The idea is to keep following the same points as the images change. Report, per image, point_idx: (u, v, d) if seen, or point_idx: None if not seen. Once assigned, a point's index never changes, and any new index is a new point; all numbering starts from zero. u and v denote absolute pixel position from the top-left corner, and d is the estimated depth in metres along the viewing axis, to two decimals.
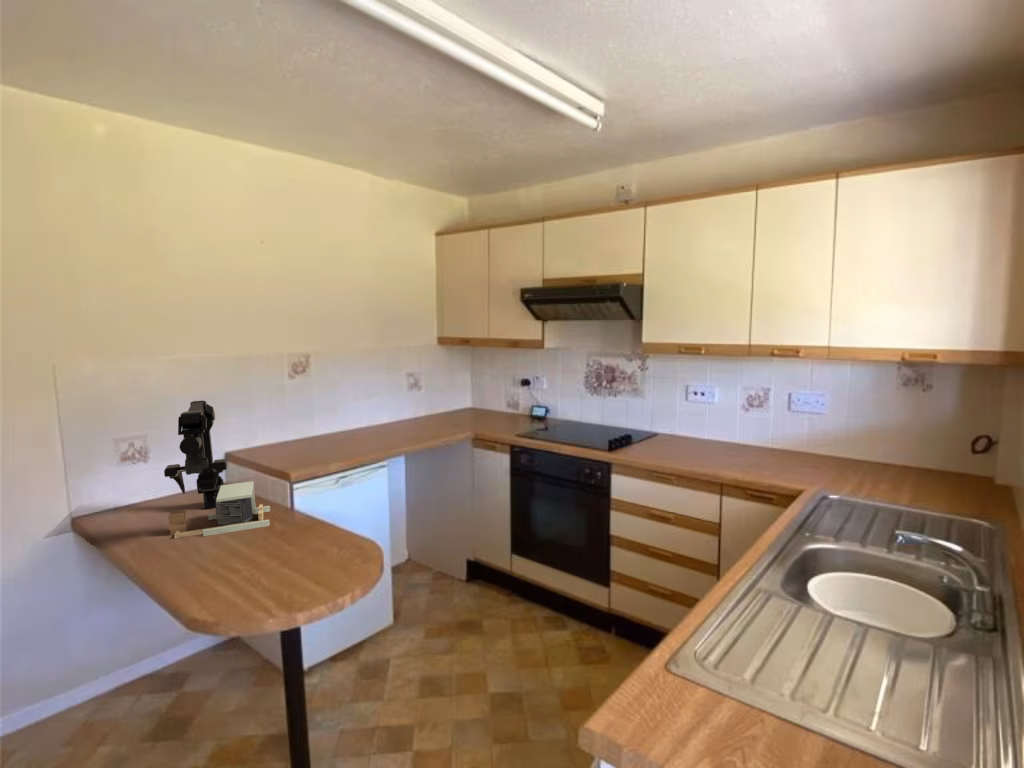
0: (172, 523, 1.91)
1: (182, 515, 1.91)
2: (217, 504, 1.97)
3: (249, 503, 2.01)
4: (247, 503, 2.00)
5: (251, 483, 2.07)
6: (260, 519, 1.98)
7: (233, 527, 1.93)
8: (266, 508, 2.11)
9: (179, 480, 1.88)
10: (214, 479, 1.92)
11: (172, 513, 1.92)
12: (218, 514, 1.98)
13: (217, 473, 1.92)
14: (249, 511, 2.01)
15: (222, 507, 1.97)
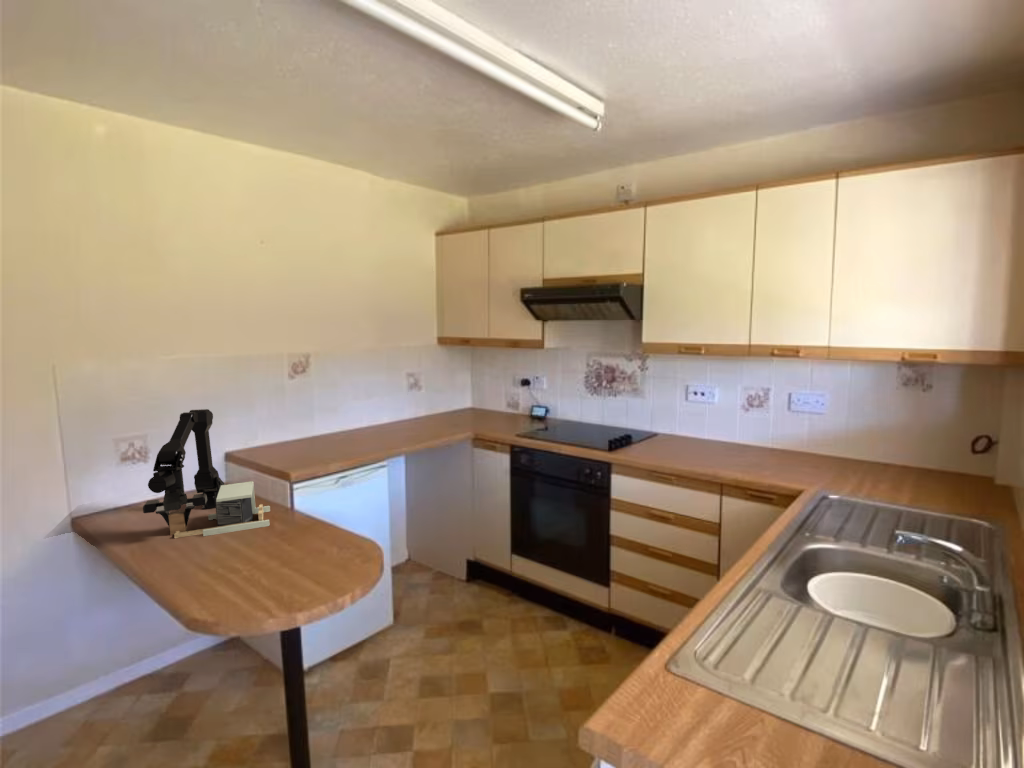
0: (172, 523, 1.91)
1: (182, 515, 1.91)
2: (217, 504, 1.97)
3: (249, 503, 2.01)
4: (247, 503, 2.00)
5: (251, 483, 2.07)
6: (260, 519, 1.98)
7: (233, 527, 1.93)
8: (266, 508, 2.11)
9: (165, 515, 1.90)
10: (186, 515, 1.93)
11: (172, 513, 1.92)
12: (218, 514, 1.98)
13: (189, 509, 1.92)
14: (249, 511, 2.01)
15: (222, 507, 1.97)
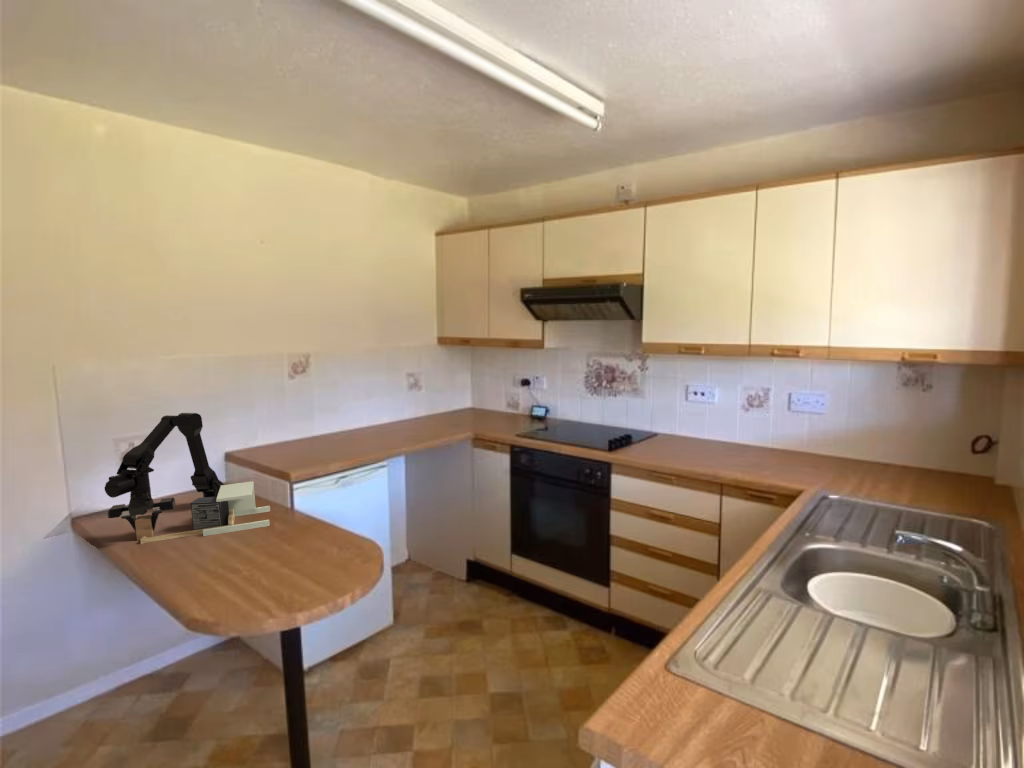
0: (139, 528, 1.87)
1: (149, 520, 1.88)
2: (193, 508, 1.93)
3: (226, 506, 1.98)
4: (225, 506, 1.97)
5: (251, 483, 2.07)
6: (230, 523, 1.95)
7: (233, 527, 1.93)
8: (266, 508, 2.11)
9: (131, 520, 1.86)
10: (153, 520, 1.89)
11: (139, 518, 1.88)
12: (194, 519, 1.93)
13: (156, 514, 1.88)
14: (226, 514, 1.98)
15: (199, 511, 1.93)
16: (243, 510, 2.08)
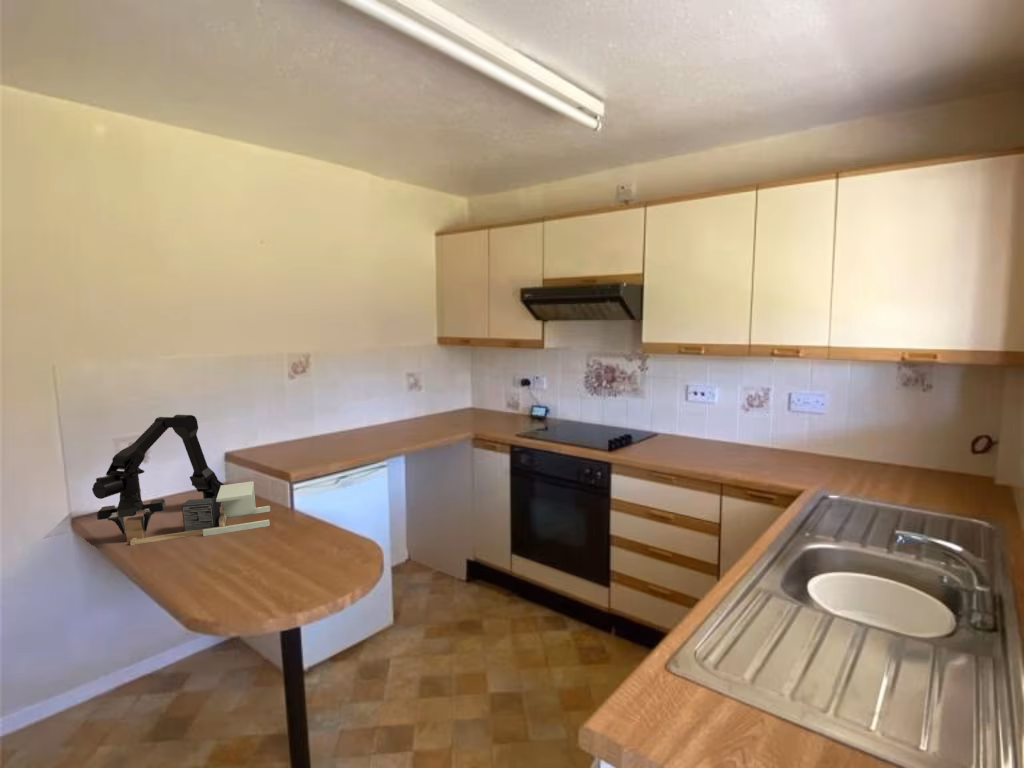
0: (129, 530, 1.86)
1: (139, 521, 1.87)
2: (184, 510, 1.91)
3: (218, 507, 1.97)
4: (217, 507, 1.96)
5: (251, 483, 2.07)
6: (221, 525, 1.93)
7: (233, 527, 1.93)
8: (266, 508, 2.11)
9: (118, 521, 1.85)
10: (145, 521, 1.88)
11: (129, 519, 1.87)
12: (186, 521, 1.92)
13: (148, 515, 1.87)
14: (218, 515, 1.97)
15: (191, 513, 1.92)
16: (243, 510, 2.08)
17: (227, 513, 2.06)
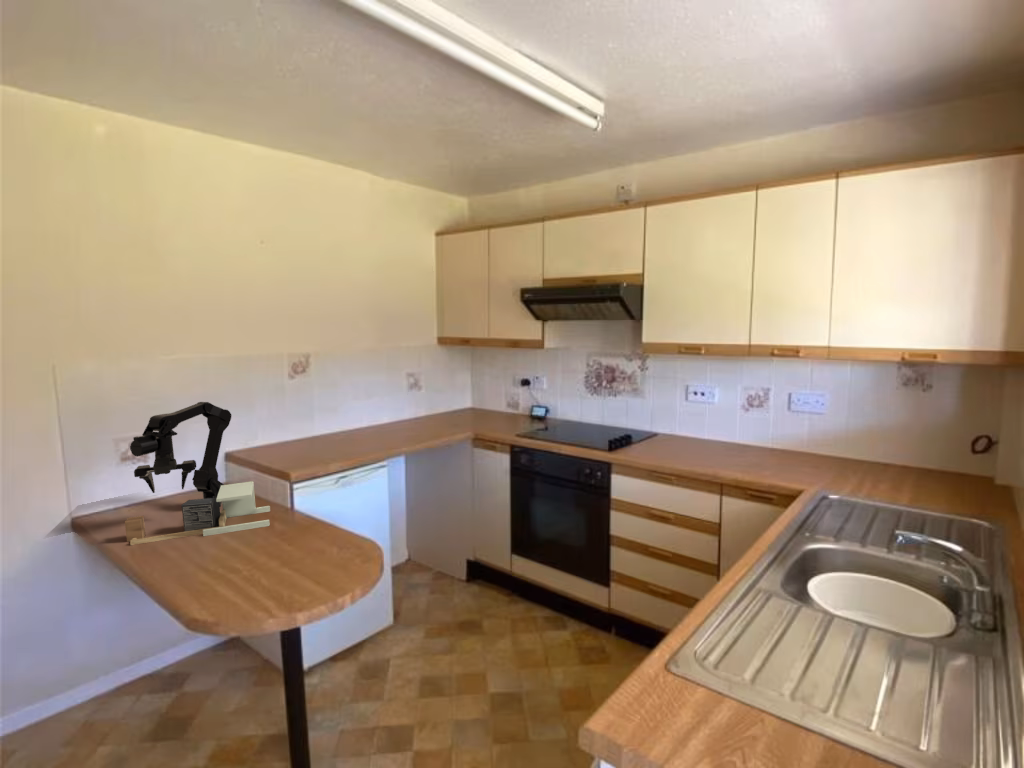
0: (129, 530, 1.86)
1: (139, 521, 1.87)
2: (184, 510, 1.91)
3: (218, 507, 1.97)
4: (217, 507, 1.96)
5: (251, 483, 2.07)
6: (221, 525, 1.93)
7: (233, 527, 1.93)
8: (266, 508, 2.11)
9: (149, 480, 1.97)
10: (183, 479, 2.02)
11: (129, 519, 1.87)
12: (186, 521, 1.92)
13: (186, 474, 2.01)
14: (218, 515, 1.97)
15: (191, 513, 1.92)
16: (243, 510, 2.08)
17: (227, 513, 2.06)
